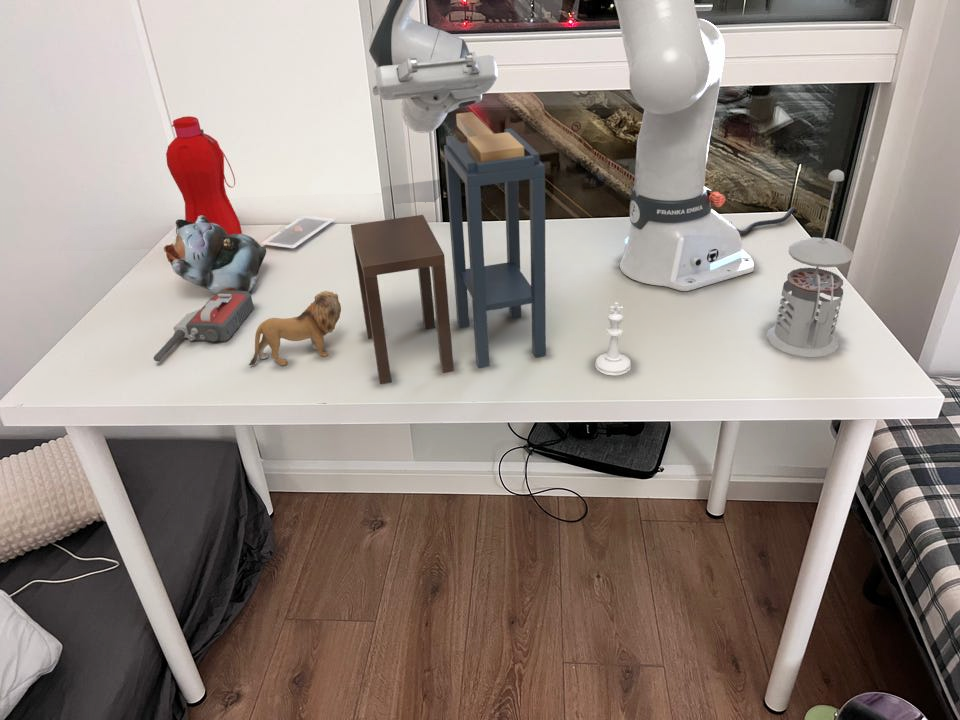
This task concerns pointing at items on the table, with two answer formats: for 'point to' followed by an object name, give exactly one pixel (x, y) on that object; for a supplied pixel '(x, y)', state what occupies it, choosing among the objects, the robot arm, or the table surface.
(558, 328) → the table surface
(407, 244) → the low stand
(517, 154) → the crossed tan timber pieces
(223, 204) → the water bottle
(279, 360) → the lion figurine
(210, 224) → the lucky cat figurine
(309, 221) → the touchpad
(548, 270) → the table surface
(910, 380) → the table surface
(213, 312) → the walkie-talkie
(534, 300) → the tall stand
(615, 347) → the chess piece
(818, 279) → the french press
